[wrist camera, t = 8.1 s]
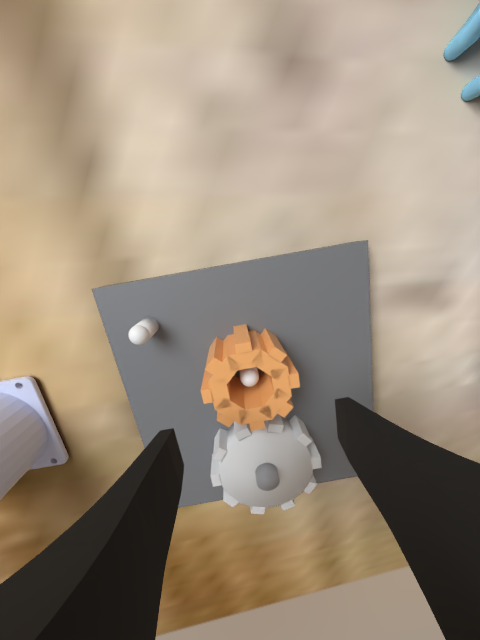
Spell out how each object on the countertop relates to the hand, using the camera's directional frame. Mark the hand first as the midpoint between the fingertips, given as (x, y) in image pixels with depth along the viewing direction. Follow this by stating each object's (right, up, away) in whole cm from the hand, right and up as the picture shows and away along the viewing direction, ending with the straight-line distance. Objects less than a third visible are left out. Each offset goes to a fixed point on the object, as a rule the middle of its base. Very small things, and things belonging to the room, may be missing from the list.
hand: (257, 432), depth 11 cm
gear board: (0, 0, +9) cm, 9 cm away
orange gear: (0, +2, +7) cm, 7 cm away
